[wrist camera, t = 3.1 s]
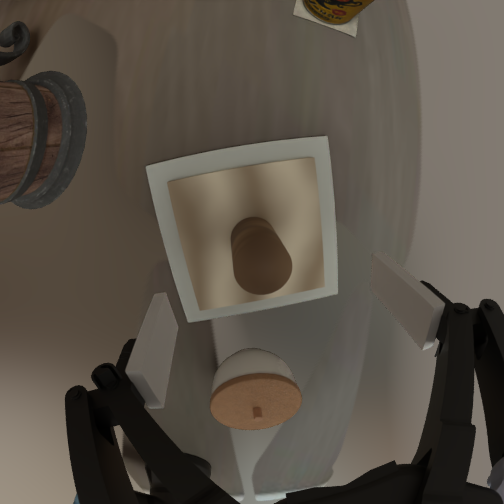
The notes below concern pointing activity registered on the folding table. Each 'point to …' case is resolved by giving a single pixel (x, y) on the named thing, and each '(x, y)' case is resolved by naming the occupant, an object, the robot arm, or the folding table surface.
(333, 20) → the condiment
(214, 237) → the lid
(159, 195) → the mat
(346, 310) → the folding table surface
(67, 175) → the tankard
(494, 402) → the robot arm
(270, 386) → the lidded jar
